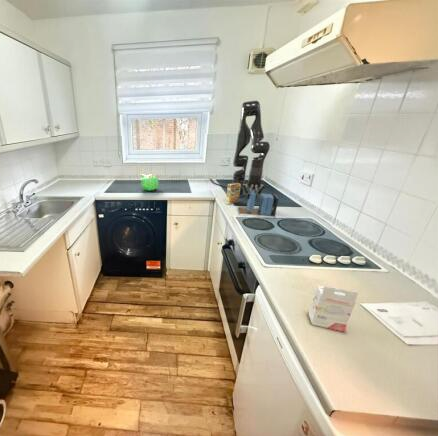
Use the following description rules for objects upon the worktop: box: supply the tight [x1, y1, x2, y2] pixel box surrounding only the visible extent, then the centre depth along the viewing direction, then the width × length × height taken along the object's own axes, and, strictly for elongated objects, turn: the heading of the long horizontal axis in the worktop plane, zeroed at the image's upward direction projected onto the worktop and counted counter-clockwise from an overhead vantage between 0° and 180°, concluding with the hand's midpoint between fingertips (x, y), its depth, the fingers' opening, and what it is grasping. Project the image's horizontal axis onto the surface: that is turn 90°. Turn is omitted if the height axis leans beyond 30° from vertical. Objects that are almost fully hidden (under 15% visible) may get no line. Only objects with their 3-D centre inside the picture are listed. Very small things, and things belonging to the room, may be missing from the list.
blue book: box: [246, 189, 257, 211], centre depth 160 cm, size 3×9×12 cm, turn 165°
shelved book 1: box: [257, 193, 268, 216], centre depth 159 cm, size 9×3×12 cm, turn 165°
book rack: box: [237, 193, 279, 218], centre depth 160 cm, size 12×22×13 cm, turn 75°
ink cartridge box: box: [308, 285, 359, 332], centre depth 72 cm, size 9×5×15 cm, turn 69°
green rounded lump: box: [139, 173, 160, 192], centre depth 215 cm, size 18×17×15 cm
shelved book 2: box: [265, 193, 274, 215], centre depth 158 cm, size 9×3×12 cm, turn 165°
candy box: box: [225, 183, 241, 205], centre depth 179 cm, size 9×4×15 cm, turn 107°
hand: (251, 199), depth 160 cm, fingers closed on blue book, 3 cm apart
